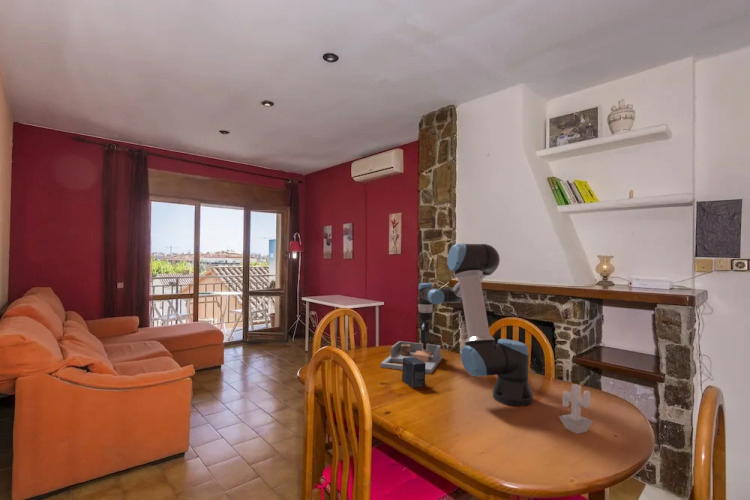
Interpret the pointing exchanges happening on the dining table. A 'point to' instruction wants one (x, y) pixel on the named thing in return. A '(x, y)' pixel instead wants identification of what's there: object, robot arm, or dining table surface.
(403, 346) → the walnut block
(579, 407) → the figurine
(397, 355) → the cubby deck
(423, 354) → the terracotta tile
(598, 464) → the dining table surface
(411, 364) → the box
